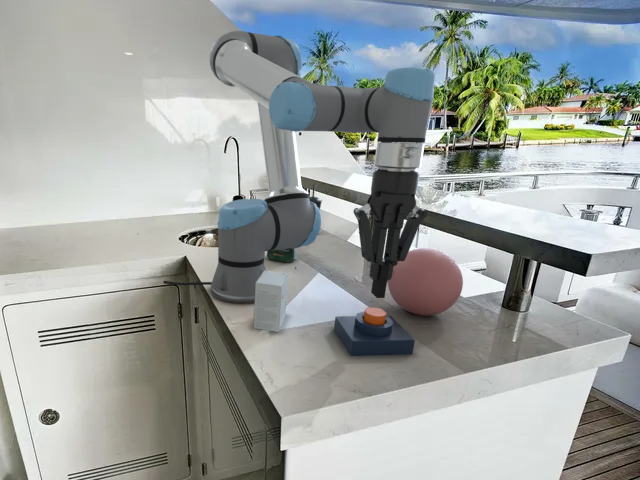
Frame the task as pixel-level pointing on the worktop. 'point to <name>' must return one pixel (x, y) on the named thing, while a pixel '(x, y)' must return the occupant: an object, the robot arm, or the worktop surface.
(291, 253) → the coffee jar
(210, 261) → the worktop surface
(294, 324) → the worktop surface
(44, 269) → the worktop surface
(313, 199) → the drinking cup
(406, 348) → the push button
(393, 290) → the balloon
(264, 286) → the small box
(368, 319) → the orange button cap
